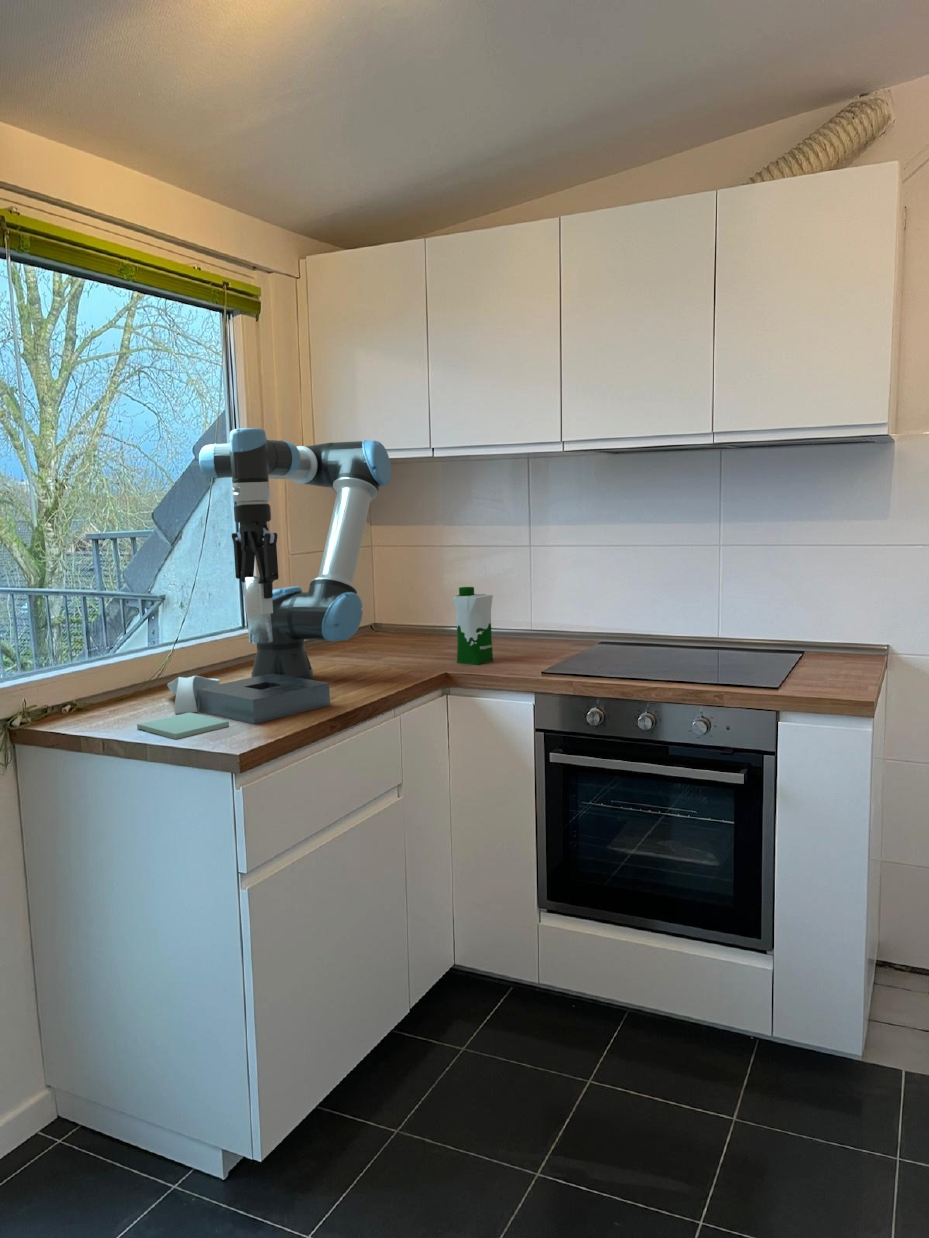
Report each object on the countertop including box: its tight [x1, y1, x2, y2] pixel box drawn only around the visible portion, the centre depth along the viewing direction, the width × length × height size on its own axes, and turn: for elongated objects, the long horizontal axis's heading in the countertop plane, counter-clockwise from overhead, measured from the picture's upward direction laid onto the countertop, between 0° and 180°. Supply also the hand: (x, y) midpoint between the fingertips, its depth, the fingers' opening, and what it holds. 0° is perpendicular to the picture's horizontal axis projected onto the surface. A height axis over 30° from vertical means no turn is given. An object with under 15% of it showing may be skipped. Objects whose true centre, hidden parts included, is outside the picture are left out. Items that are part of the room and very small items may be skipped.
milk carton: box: [452, 586, 494, 666], centre depth 247 cm, size 9×9×20 cm
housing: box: [197, 674, 331, 725], centre depth 200 cm, size 20×20×5 cm
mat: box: [136, 712, 230, 740], centre depth 185 cm, size 14×12×1 cm
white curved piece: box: [166, 675, 221, 715], centre depth 209 cm, size 24×12×7 cm, turn 11°
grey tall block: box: [245, 575, 273, 645], centre depth 197 cm, size 5×5×14 cm
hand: (259, 612), depth 198 cm, fingers closed on grey tall block, 5 cm apart
